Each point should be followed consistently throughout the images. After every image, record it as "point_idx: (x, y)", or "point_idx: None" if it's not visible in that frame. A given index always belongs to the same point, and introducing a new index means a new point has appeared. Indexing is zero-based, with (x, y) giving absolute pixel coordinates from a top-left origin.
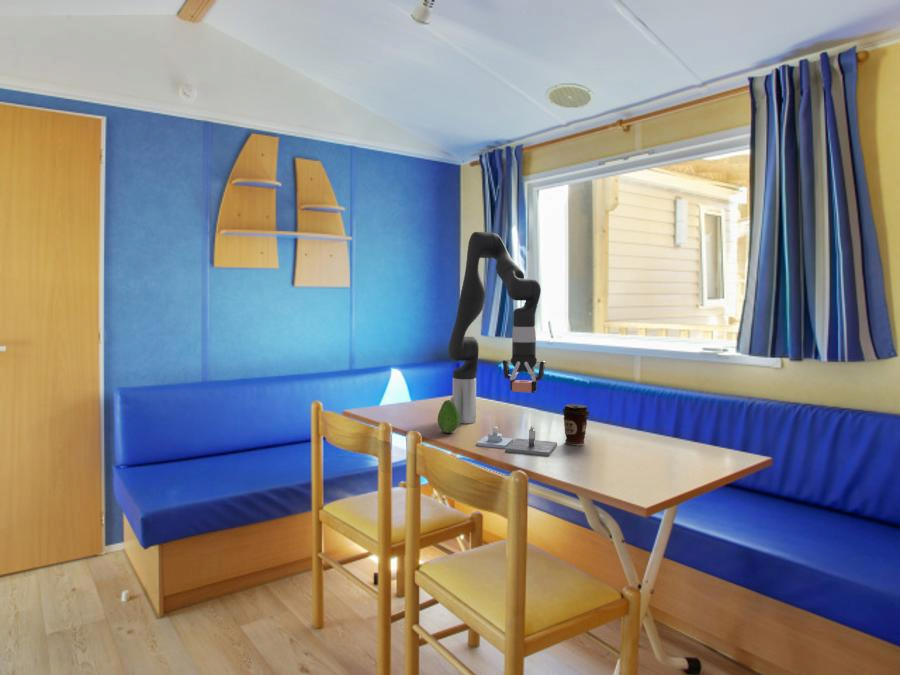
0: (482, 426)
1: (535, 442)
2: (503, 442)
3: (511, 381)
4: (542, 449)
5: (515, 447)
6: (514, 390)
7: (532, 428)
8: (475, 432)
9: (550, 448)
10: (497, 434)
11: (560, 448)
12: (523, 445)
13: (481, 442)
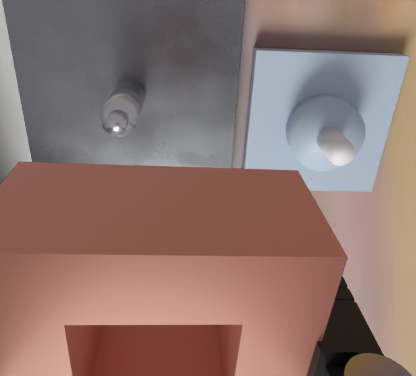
0: (386, 343)
1: (127, 148)
2: (275, 106)
3: (359, 353)
4: (51, 20)
5: (197, 12)
6: (264, 176)
7: (111, 114)
8: (411, 263)
9: (21, 57)
10: (317, 138)
11: (12, 141)
12: (167, 71)
13: (383, 67)
